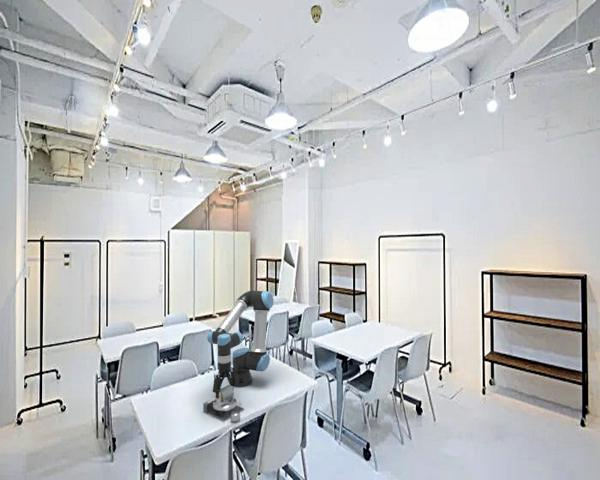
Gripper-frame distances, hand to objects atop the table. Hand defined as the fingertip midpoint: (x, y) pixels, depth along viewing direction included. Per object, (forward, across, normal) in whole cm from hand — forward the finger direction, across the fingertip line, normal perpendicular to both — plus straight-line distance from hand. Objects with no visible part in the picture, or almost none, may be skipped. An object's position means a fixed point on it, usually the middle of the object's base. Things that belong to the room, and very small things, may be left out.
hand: (225, 399), depth 192 cm
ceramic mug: (0, 0, +1) cm, 1 cm away
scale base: (+7, 0, -1) cm, 7 cm away
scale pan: (+5, 0, 0) cm, 5 cm away
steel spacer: (+7, +3, +12) cm, 14 cm away
